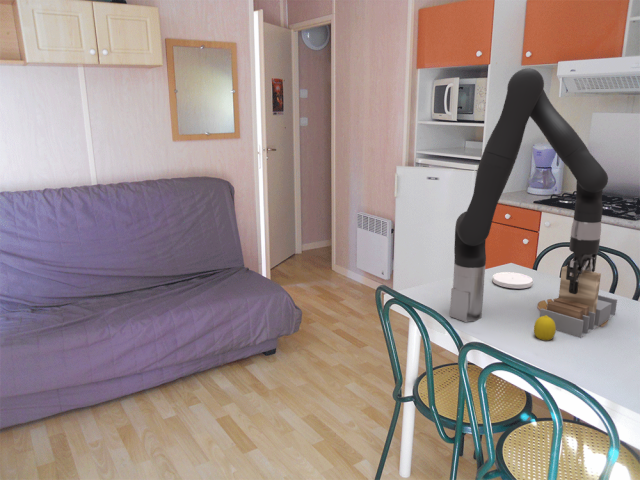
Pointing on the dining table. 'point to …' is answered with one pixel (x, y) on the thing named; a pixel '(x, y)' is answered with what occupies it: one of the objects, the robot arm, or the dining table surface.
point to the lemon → (544, 328)
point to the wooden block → (582, 289)
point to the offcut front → (565, 310)
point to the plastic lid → (512, 280)
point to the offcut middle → (574, 305)
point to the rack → (584, 326)
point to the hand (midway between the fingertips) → (578, 290)
